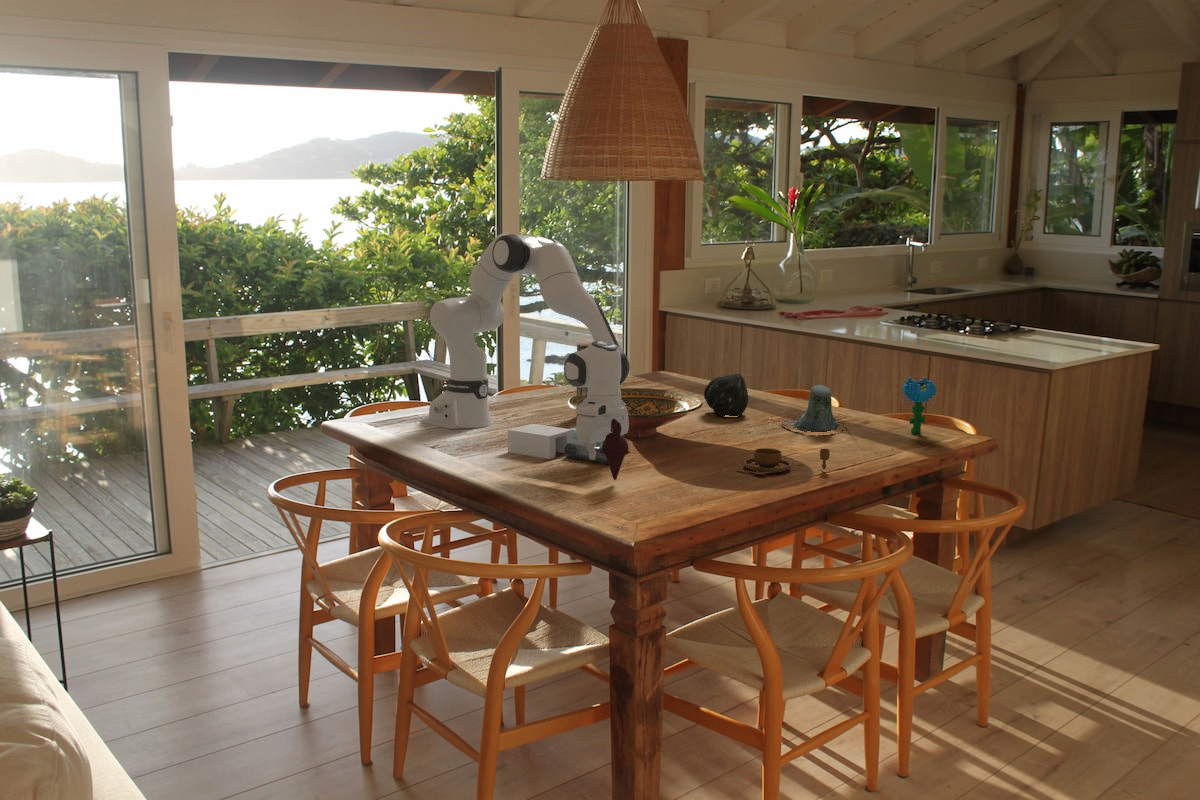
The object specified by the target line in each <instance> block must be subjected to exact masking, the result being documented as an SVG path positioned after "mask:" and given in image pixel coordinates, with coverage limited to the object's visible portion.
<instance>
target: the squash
mask: <svg viewBox="0 0 1200 800" xmlns="http://www.w3.org/2000/svg"><path fill="white" fill-rule="evenodd" d="M745 381H746V380H745V378H744V377H743V375H742V374H741V373H734V374H728V375H722V376H716V377H715V378H713V379H712V380H710V381H709V383H708V384H706V386H705V388H704V392H703V397H704V400H705V401H706V404H707V406H708V407H709V408H710V409H712V411H713V412H714V411H715V412H718V413H717V415H719V416H720V417H722V416H725V415H729V416H738V415H740V416H741V415H742V414H744V412H745V411H746V409H747V407H748V404H749V393H748V392H749V391H748V388H747V384H746V382H745ZM715 412H714V413H715Z"/></svg>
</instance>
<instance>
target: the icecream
mask: <svg viewBox="0 0 1200 800" xmlns="http://www.w3.org/2000/svg"><path fill="white" fill-rule="evenodd" d="M621 429H622V428H621V424H620V423H619V422H618V421H617V420H616V419H612V421H611V432H612V433H609V434H607V435H606V439H605V440H604V441H603V445H602V451H601V452H600V453H602V454H605V456H606V459H607V461H608V464H607V465H608V467H609V469H610V474H611V475H612V480H613V481H616V480H617V478H618V475H619V473H620V469H621V467H622V465H623V462H624V458H625V456H626V455H628V454H630V453H631V451H630V450H629V442H628V440H627V439H626V437H625V436H624V435H623V436H622V435H620V434H621Z"/></svg>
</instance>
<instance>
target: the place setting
mask: <svg viewBox="0 0 1200 800" xmlns="http://www.w3.org/2000/svg"><path fill="white" fill-rule="evenodd" d="M830 451H831V450H830V449H828V448H821V449H819V459H820V460H821V461H822V464H821V467H822V469H826V468H827V461H828V460H829V459H830V454H831V452H830ZM753 454H754V455H753V458H752V457H751V458H748V459H745V460H744V461H743V463H744V467H745V468H746V469H747V468H748V469H747V470H739V471H738V472H741V471H742V473H752V474H754V475H757V476H763V475H766V474H767V473H765V472H781V471H785V472H787V471H788V470H790V468H791V462H790V461H787V460H784V459H782V451H781V450H779V449H775V448H766V447H765V448H756V449H755V450H753ZM752 462H756V464H758V465H759V467H755V466H751V465H748V464H750V463H752ZM779 463H783V464H785V465H787V466H786V467H781V468H774V467H775V466H777V465H778V464H779ZM749 469H750V470H749ZM751 470H753V471H751ZM786 470H787V471H786ZM754 471H758V472H754Z"/></svg>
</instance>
